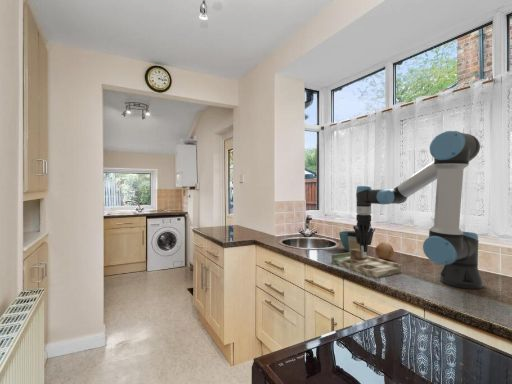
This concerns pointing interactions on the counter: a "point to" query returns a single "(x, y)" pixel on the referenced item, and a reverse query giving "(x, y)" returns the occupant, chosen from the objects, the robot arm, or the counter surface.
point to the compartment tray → (367, 265)
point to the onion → (384, 251)
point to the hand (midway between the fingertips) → (363, 257)
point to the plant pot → (344, 239)
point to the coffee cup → (352, 240)
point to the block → (356, 254)
